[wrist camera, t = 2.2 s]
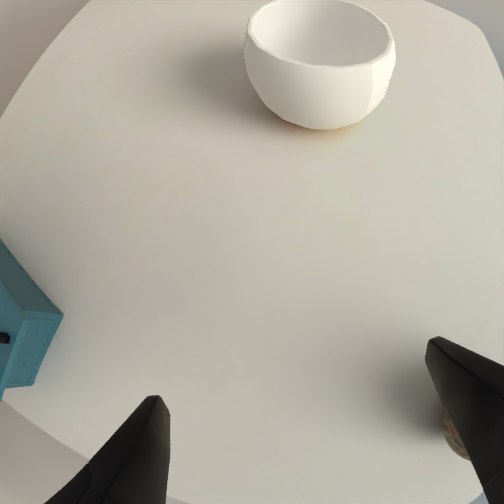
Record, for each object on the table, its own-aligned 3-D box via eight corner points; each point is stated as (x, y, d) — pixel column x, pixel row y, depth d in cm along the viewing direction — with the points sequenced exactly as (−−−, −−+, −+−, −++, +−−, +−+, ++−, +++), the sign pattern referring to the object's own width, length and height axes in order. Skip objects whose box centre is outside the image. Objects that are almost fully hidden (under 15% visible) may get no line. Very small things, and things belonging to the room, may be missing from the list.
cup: (327, 50, 29) (331, -18, 20) (402, 122, 26) (432, 52, 17) (231, 90, 29) (211, 17, 20) (299, 176, 26) (302, 101, 16)
